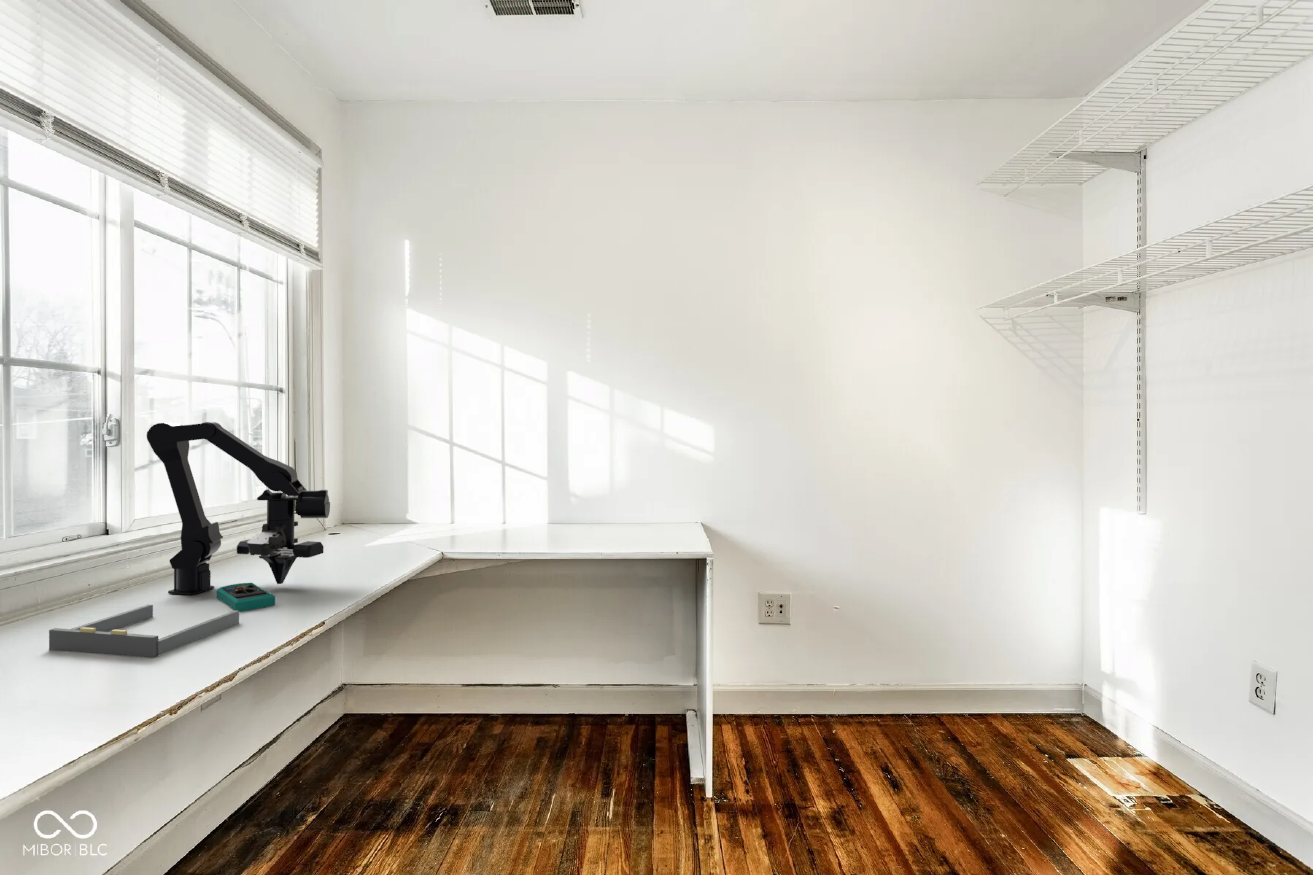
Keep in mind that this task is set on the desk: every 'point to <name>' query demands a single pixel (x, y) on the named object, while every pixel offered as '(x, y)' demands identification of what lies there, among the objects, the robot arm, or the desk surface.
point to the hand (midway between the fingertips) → (280, 583)
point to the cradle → (132, 635)
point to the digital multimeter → (245, 596)
